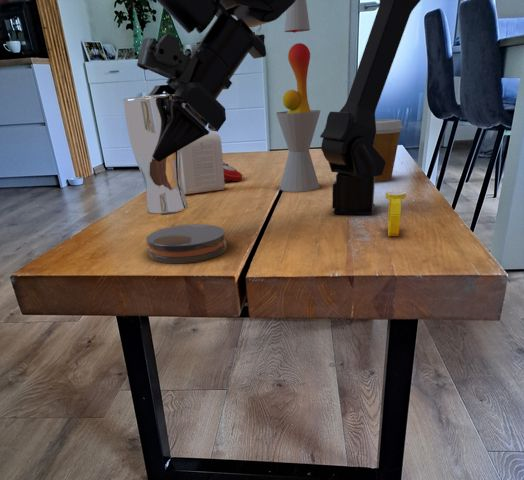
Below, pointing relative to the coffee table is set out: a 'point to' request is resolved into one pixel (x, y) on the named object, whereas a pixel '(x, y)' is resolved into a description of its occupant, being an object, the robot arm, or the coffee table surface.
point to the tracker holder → (231, 173)
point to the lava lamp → (298, 110)
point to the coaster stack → (186, 243)
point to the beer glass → (144, 144)
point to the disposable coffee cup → (387, 145)
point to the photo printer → (202, 165)
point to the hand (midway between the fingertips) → (149, 156)
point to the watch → (394, 211)
